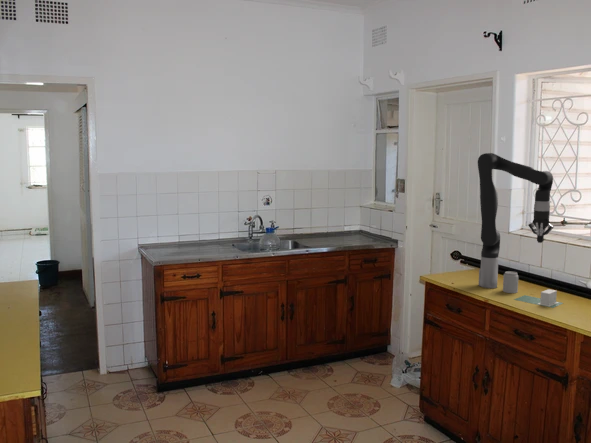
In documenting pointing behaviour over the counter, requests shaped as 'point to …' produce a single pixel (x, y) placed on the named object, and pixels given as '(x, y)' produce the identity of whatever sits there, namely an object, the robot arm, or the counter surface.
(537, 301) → the board
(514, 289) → the can
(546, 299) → the block
